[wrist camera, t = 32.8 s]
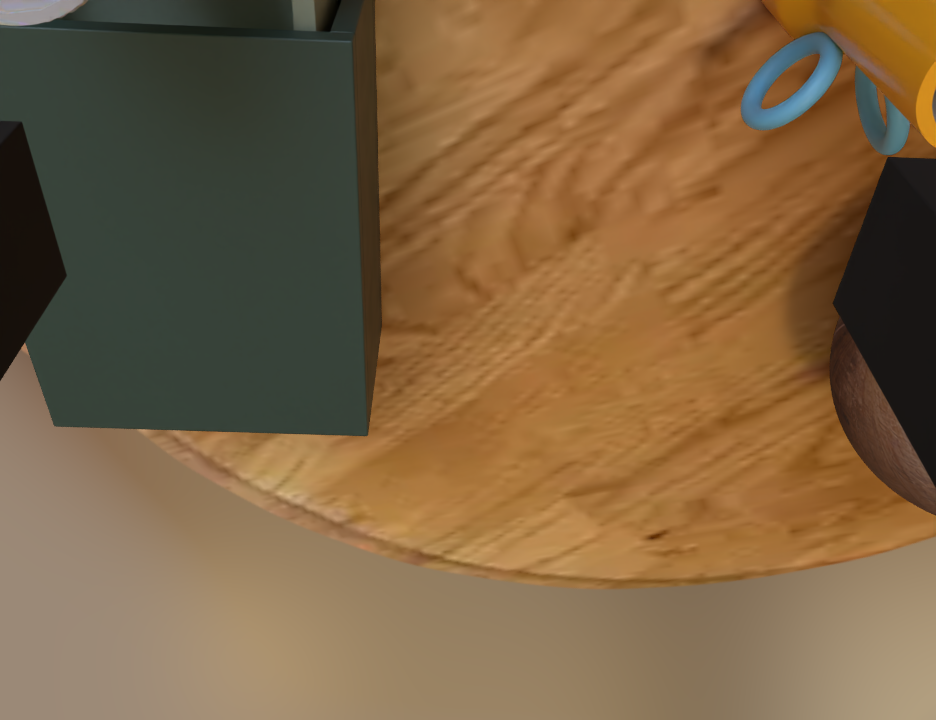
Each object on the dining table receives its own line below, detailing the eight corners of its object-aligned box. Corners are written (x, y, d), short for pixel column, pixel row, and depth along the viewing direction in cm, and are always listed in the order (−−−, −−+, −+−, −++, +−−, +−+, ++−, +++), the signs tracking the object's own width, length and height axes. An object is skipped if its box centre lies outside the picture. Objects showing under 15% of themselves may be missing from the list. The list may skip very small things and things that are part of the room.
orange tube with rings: (950, 51, 39) (1157, 223, 27) (714, 117, 41) (814, 303, 29) (964, -272, 32) (1253, -225, 20) (675, -173, 34) (787, -78, 22)
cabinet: (16, -49, 36) (-89, 21, 30) (373, -33, 37) (352, 41, 30) (112, 316, 48) (53, 427, 41) (381, 325, 49) (368, 436, 42)
